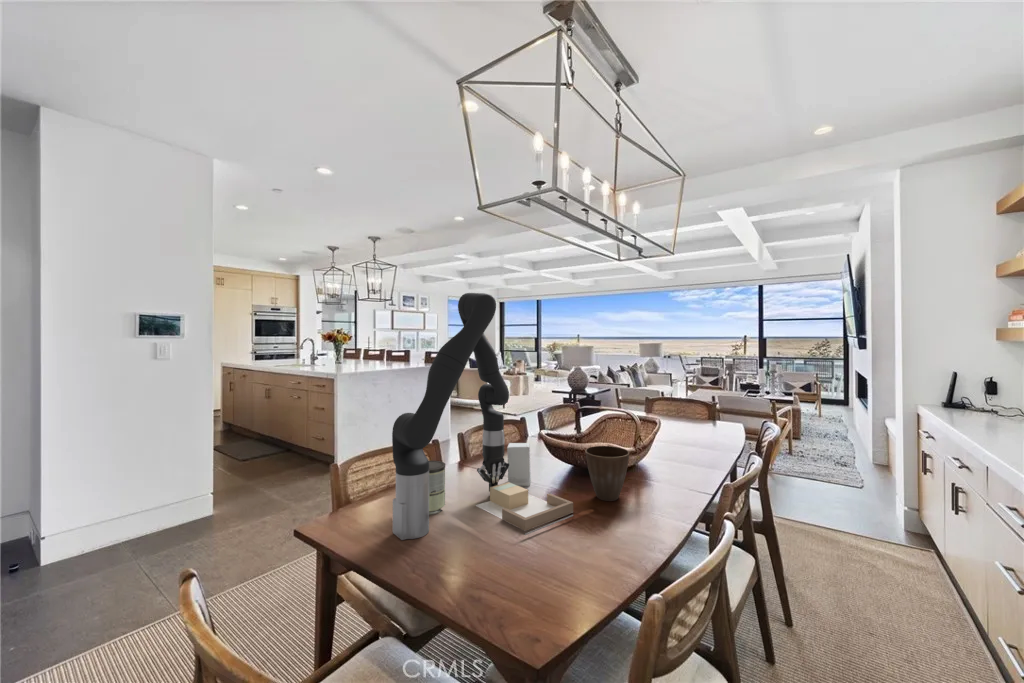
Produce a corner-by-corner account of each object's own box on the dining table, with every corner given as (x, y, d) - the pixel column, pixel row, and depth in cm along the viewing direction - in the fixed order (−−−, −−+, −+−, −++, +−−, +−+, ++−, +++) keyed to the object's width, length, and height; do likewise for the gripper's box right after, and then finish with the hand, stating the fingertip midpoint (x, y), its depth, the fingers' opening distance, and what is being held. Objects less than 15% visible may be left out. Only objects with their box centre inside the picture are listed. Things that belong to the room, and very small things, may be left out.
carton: (509, 510, 130) (509, 495, 130) (490, 500, 138) (490, 487, 138) (528, 503, 135) (528, 489, 135) (508, 495, 143) (508, 481, 143)
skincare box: (530, 483, 158) (530, 442, 158) (529, 489, 151) (529, 447, 152) (508, 483, 159) (509, 442, 159) (507, 489, 152) (507, 446, 152)
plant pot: (618, 509, 134) (618, 459, 134) (577, 498, 143) (577, 452, 143) (635, 495, 146) (635, 450, 146) (596, 486, 155) (596, 443, 155)
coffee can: (406, 510, 132) (406, 466, 133) (428, 500, 141) (428, 458, 141) (430, 517, 127) (430, 471, 127) (451, 506, 136) (452, 463, 136)
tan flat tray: (525, 535, 115) (525, 520, 115) (475, 509, 134) (475, 496, 134) (573, 516, 128) (573, 502, 128) (521, 494, 147) (521, 482, 147)
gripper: (484, 447, 135) (484, 501, 135) (515, 441, 144) (515, 491, 144) (471, 443, 141) (471, 494, 141) (501, 437, 150) (501, 486, 150)
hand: (493, 493), depth 143 cm, fingers closed
